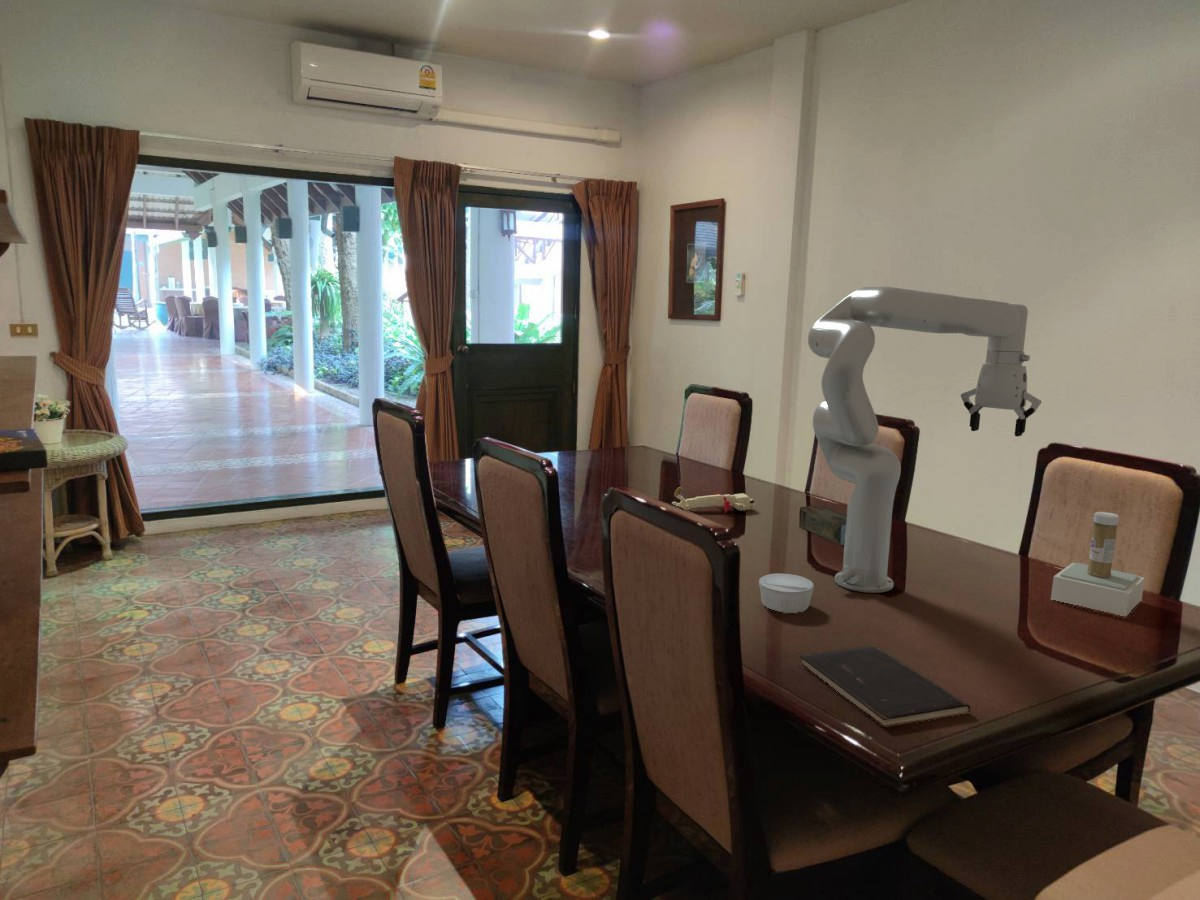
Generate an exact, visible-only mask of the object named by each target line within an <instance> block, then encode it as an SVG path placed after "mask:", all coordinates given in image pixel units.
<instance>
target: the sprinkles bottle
mask: <svg viewBox="0 0 1200 900" xmlns="http://www.w3.org/2000/svg"><path fill="white" fill-rule="evenodd" d="M1093 515H1094V516H1093V521H1092V522H1093V530H1092V537H1091V541H1090V547H1089V548H1090V550H1089V555H1088V557H1089V558H1088V564H1087V565H1088V569H1087V573H1088V574H1090V575H1093V576H1096V577H1110V576H1111V570H1112V567H1113V562H1114V555H1115V547H1116V540H1117V530H1118V525H1119V522H1120V516H1119V515H1118V514H1116V513H1112V512H1106V511H1105V512H1104V511H1096V512H1094V514H1093Z"/></svg>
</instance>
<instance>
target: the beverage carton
mask: <svg viewBox="0 0 1200 900" xmlns="http://www.w3.org/2000/svg"><path fill="white" fill-rule="evenodd" d="M798 517H799V518H798V519H799V521H798V524H799V525H798V527H799V528H801V529H803V530H806V531H808V532H810V533H812V534H815V535H816V536H819V537H821V538H823V539H826V540H827V541H830V542H833V543H835V544H836V545H840V546H844V545H845V532H846V519H847V513H846V514H845V513H843V512H841V511H838V510H836V509H833V508H831V507H829V506H826V505H823V504H818V505H809V506H800V507H799V516H798Z"/></svg>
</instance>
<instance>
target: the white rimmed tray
mask: <svg viewBox="0 0 1200 900" xmlns="http://www.w3.org/2000/svg"><path fill="white" fill-rule="evenodd" d="M1088 565H1089V564H1086V563H1080V562H1071V563H1070V564H1069V565H1067V566H1066V567H1065V568H1063V569H1062V570H1061V571H1059V572H1057V573H1056V574H1055V575H1054V576H1053V579H1052V588H1051V593H1050V594H1051V595H1050V601H1051V600H1056V601H1060V602H1064V603H1069V604H1073V605H1079V606H1083V607H1087V608H1091V609H1095V610H1100V611H1104V612H1109V613H1113V614H1116V615H1120V616H1125V617H1126V616H1127V615H1128V614H1129V613H1130V612H1131V610H1132V609H1133V608H1134V607H1135V606H1136V605H1137V604H1138V603H1139V602H1140V601H1141V602H1142V600H1143V593H1144V584H1145V577H1143V576H1139V575H1137V574H1134V573H1130V572H1129V573H1128V572H1124V571H1118V570H1114V569H1111V576H1110V577H1096V576H1093V575H1090V574H1088V573H1087V569H1088ZM1131 613H1132V612H1131Z"/></svg>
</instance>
